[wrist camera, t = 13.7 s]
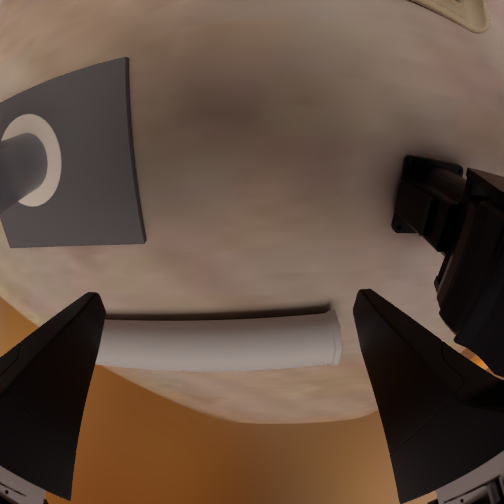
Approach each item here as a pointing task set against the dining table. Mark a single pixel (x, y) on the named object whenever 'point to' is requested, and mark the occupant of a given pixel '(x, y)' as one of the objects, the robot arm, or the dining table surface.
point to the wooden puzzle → (461, 12)
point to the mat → (77, 161)
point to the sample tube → (20, 168)
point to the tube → (222, 343)
